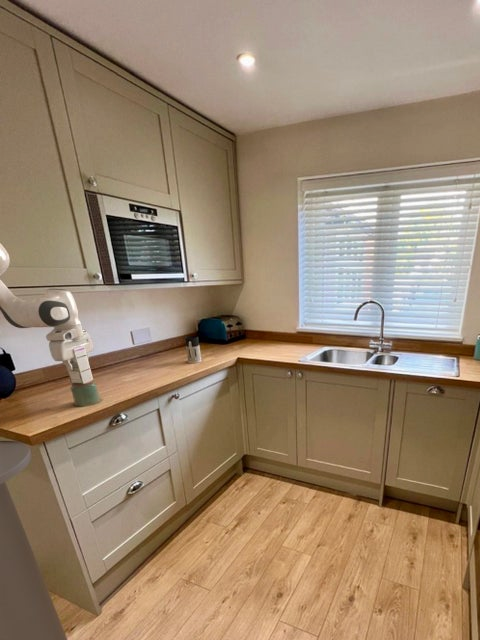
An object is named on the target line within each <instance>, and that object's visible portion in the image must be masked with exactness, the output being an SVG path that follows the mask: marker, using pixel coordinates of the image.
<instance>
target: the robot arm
mask: <svg viewBox="0 0 480 640" xmlns="http://www.w3.org/2000/svg"><path fill="white" fill-rule="evenodd" d="M10 262H11V259H10V255H9V252H8V251H7V250H6V248H5V247H4V246H3V244H2V243H0V276H2V275H3V274H4V273H5V272H6V271H7V269H8V268H9V266H10ZM0 312H1V314H2V316H3V317H4V319H5V320H6V321H7V323H9V324H10V325H11V326H13V327H14V328H17V329H29V328H53V329H52V330H51V331H50V332H49V333H47V334H46V335H45V338H46V340H47V341H48V348H49V352H50V355H51V358H52V360H53V361H55V362H62V364H63V365H64V366H65V367H66V370H67V371H68V370H73V369H74V366H73V365H71V363H70V359H71V358H74V357H75V356H74V352H73V349H74V348H76V347H79V346H84V347H85V350H86V354H87V358H88V359H89V357H90V354H89V353H91V352H93V351H94V349H95V347H94V343H93V341H92V338H91V336H90V334H89V332H88V331H87V330H86V329H84V328H83V326H82V322H81V321H80V319H79V310H78V306H77V303H76V300H75V297H74V295H73V293H72V292H71V291H69V290H68V289H62V288H48V289H46V290H45V293H44V294H43V295H42V296H41V297H39V298H37V299H24V298H20V297H17V296H16V295H15V294H14V293H12V291H11V290H10V289H9V287H8V286H7V285H6V283H4V281H2V280H1V279H0Z"/></svg>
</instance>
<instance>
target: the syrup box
mask: <svg viewBox="0 0 480 640" xmlns="http://www.w3.org/2000/svg"><path fill="white" fill-rule="evenodd" d="M73 352H74V356H75V357H74V358H71V359H70V363H71V365H73V366H74V369H73V370H67V374H68V377H69V381H70V384H71V383H76V384H84V383H87V382H90V381H92V380H94V377H93V374H92V370H91V367H90V362H89V357H88V358H87V354H86V350H85V347H84V346H79V347H76V348H74V349H73Z"/></svg>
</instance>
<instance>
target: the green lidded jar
mask: <svg viewBox="0 0 480 640" xmlns="http://www.w3.org/2000/svg"><path fill="white" fill-rule="evenodd" d="M69 388H70V392H71V395H72V399H73V403H74V405H75V406H76V407H86V406H92V405H95V404H98V403H100V402H101V397H100V393H99V389H98V385H97V383H96V382H95V380H94V379H93V380H92V381H90V382H87V383H84V384H76V383H71V382H70V387H69Z"/></svg>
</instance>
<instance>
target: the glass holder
mask: <svg viewBox="0 0 480 640" xmlns="http://www.w3.org/2000/svg"><path fill="white" fill-rule="evenodd" d="M184 340H185V350H186V356H187V363H188V364H198V363H199V364H200V363H202V362H203V360H202V355H201V347H200V341H199V336H194V335H192V336H185V337H184Z"/></svg>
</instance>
